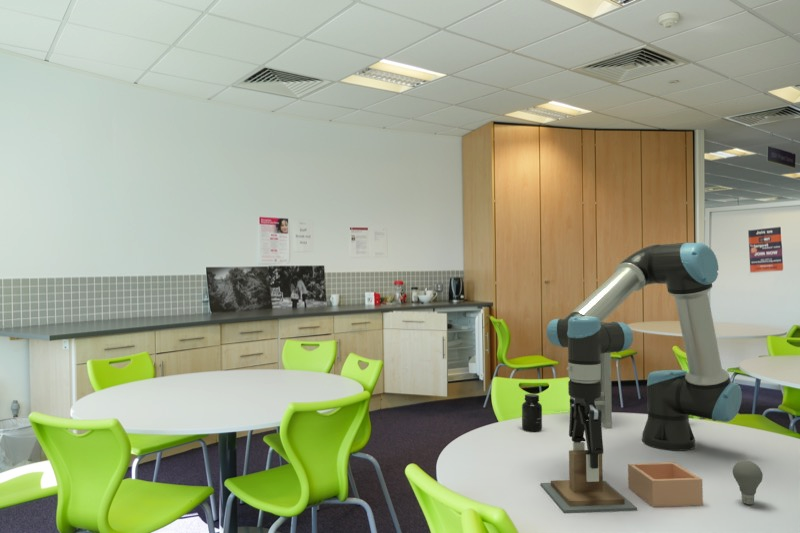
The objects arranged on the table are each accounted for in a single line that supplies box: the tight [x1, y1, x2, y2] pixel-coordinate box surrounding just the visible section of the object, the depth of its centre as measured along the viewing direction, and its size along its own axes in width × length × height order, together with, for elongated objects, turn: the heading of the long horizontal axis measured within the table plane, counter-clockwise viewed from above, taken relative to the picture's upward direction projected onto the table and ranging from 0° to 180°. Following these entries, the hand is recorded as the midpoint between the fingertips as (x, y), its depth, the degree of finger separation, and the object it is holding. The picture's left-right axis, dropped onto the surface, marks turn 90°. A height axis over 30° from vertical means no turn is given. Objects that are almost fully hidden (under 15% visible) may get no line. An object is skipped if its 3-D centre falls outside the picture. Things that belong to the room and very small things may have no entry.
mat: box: [540, 480, 638, 514], centre depth 136 cm, size 17×17×1 cm
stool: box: [569, 353, 613, 430], centre depth 203 cm, size 16×16×35 cm
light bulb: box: [732, 459, 764, 505], centre depth 132 cm, size 6×6×10 cm
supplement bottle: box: [521, 393, 543, 433], centre depth 196 cm, size 7×7×12 cm
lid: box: [550, 449, 625, 506], centre depth 136 cm, size 13×13×10 cm
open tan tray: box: [627, 462, 704, 508], centre depth 136 cm, size 12×12×6 cm
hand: (585, 474), depth 136 cm, fingers open, 8 cm apart
